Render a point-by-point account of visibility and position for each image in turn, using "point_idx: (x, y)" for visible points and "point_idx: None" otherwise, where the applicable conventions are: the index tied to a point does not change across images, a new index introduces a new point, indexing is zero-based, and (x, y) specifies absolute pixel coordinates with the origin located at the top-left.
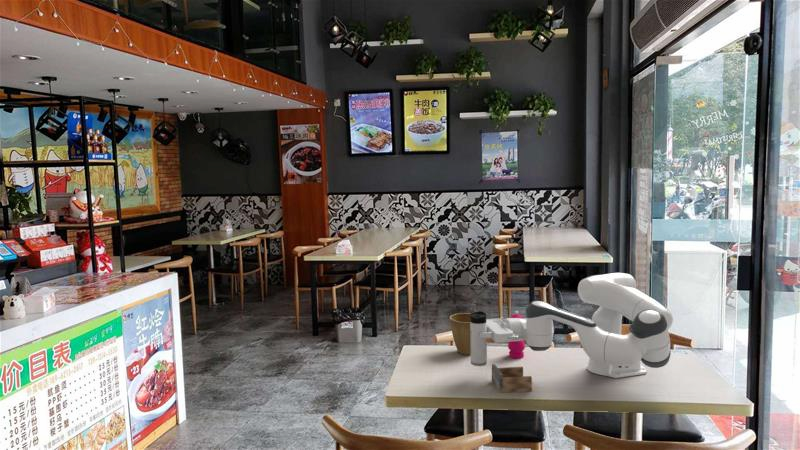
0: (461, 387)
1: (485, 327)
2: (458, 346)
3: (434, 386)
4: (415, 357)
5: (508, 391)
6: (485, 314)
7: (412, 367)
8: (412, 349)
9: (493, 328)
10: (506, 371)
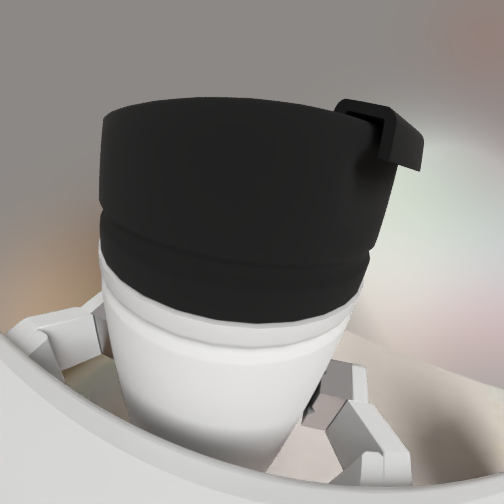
0: None
1: (107, 319)
2: None
3: None
4: (453, 390)
5: None
6: (185, 114)
7: (383, 365)
8: (498, 395)
9: (18, 402)
10: None
